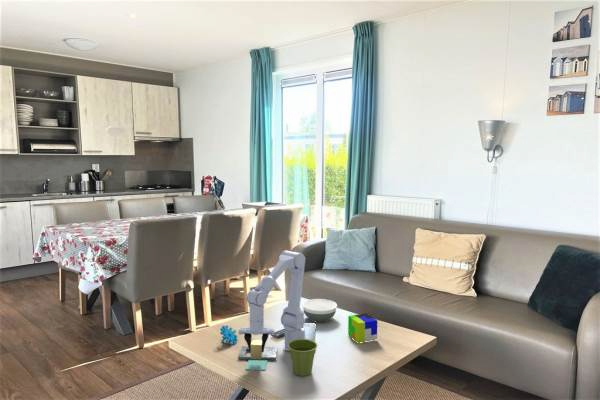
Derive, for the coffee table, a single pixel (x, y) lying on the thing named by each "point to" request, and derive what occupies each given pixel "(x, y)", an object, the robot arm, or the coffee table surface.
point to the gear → (228, 335)
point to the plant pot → (302, 355)
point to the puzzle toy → (362, 327)
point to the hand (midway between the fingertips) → (256, 351)
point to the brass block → (256, 349)
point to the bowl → (319, 309)
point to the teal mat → (256, 365)
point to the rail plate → (268, 354)
